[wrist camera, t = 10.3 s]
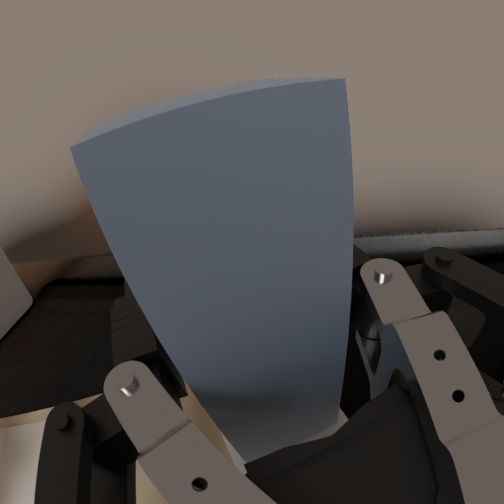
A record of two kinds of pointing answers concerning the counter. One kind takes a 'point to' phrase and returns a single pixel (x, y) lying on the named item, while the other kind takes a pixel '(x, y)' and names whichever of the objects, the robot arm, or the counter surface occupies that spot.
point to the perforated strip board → (29, 444)
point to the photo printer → (11, 296)
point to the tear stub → (238, 247)
